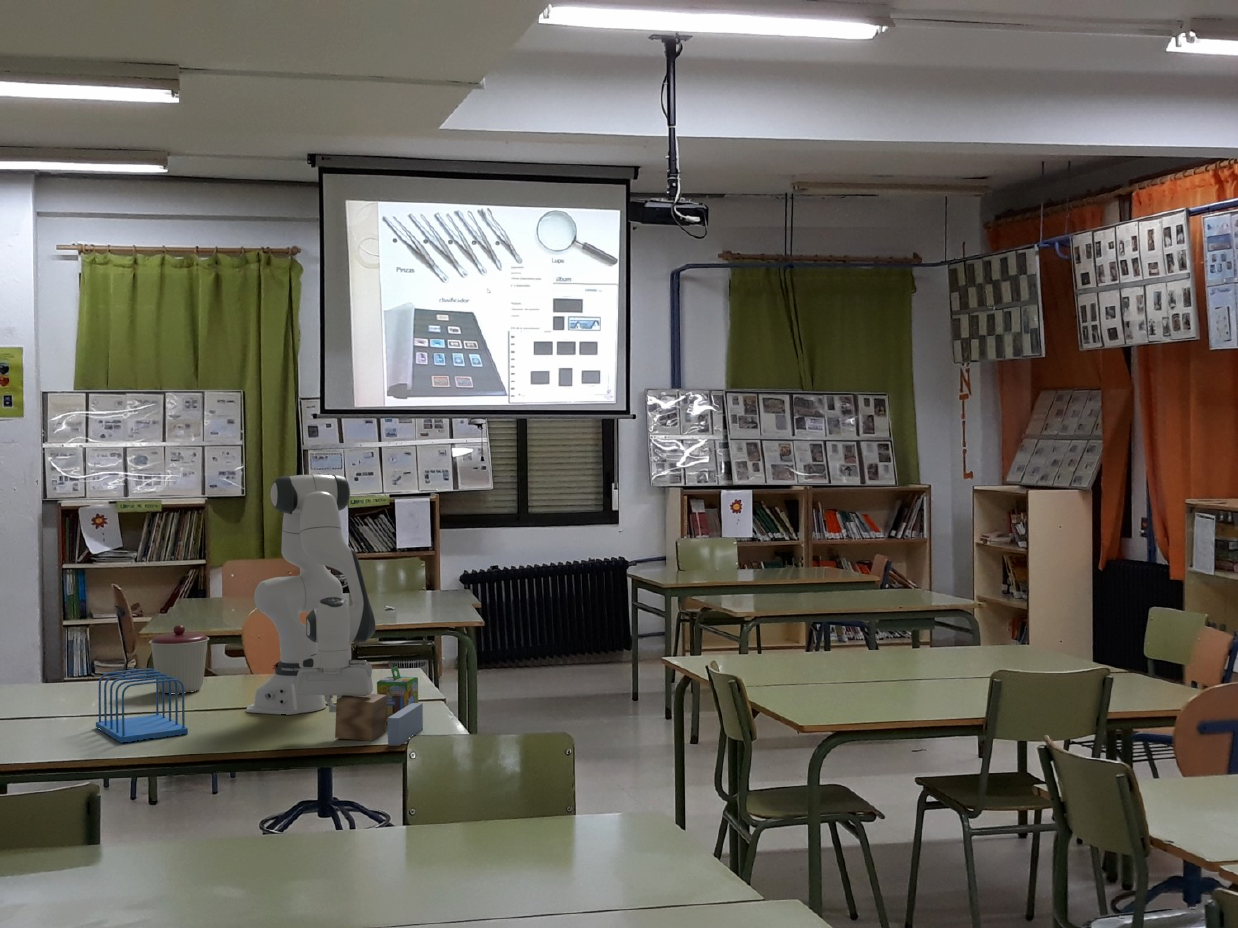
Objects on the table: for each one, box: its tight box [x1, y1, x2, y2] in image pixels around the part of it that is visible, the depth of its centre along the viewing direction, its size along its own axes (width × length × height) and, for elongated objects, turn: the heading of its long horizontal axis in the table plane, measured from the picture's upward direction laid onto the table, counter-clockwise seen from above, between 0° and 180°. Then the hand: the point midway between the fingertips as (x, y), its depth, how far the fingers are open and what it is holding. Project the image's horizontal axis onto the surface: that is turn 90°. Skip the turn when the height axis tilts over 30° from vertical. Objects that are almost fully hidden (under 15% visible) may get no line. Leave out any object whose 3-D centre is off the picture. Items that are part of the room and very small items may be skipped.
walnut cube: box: [334, 693, 387, 742], centre depth 327 cm, size 10×10×10 cm
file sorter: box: [95, 668, 189, 744], centre depth 337 cm, size 25×17×15 cm
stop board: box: [387, 702, 424, 747], centre depth 326 cm, size 3×19×7 cm, turn 171°
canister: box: [148, 624, 210, 693], centre depth 394 cm, size 18×18×21 cm
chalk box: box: [376, 665, 419, 724], centre depth 347 cm, size 9×9×15 cm
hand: (335, 711), depth 328 cm, fingers closed
